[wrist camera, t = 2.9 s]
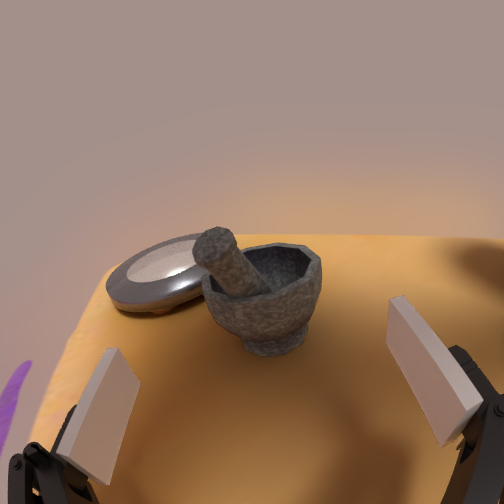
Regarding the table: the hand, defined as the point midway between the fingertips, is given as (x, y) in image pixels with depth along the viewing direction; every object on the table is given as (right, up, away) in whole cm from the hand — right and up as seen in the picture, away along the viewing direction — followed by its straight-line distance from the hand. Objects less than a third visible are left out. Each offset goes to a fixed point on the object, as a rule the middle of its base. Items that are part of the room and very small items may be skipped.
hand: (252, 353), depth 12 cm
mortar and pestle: (+2, -3, +12) cm, 13 cm away
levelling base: (-11, 0, +28) cm, 30 cm away
